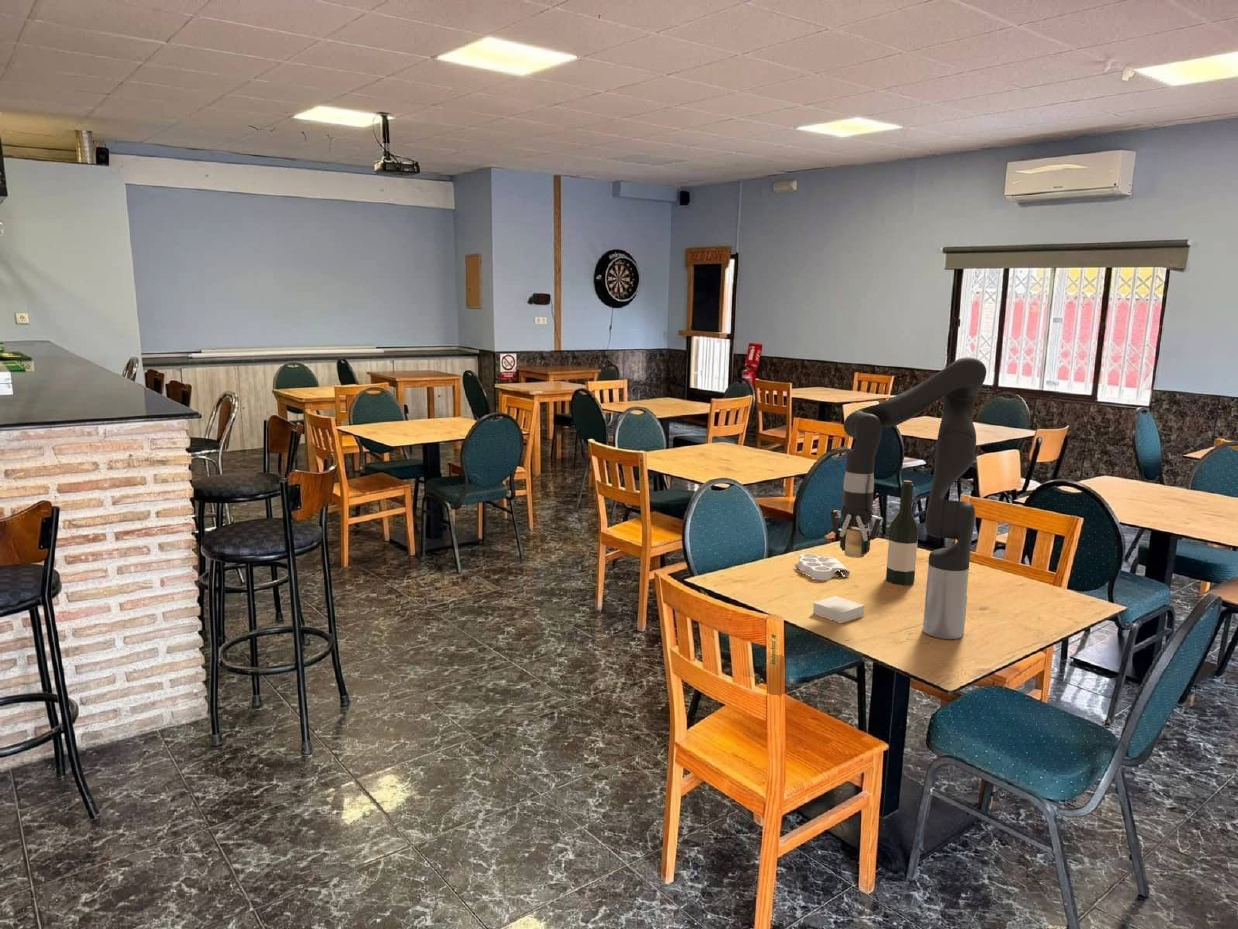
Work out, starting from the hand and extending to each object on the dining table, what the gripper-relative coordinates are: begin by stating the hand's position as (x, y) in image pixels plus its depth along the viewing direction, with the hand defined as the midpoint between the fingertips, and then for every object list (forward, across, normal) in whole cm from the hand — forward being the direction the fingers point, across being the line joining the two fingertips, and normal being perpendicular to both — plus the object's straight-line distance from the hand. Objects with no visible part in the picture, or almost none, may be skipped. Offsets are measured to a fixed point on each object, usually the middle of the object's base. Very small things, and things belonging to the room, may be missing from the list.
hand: (854, 551), depth 219 cm
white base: (+15, 0, +8) cm, 17 cm away
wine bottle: (+15, -2, -31) cm, 34 cm away
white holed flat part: (+16, +20, -24) cm, 35 cm away
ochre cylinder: (+1, 0, 0) cm, 1 cm away
